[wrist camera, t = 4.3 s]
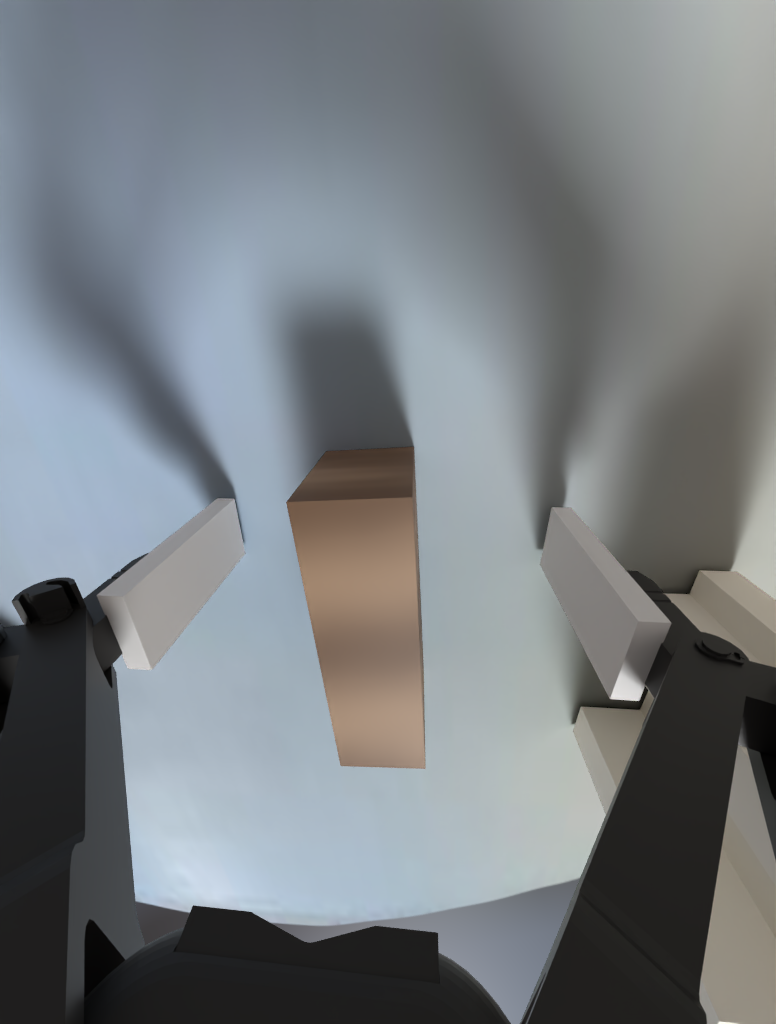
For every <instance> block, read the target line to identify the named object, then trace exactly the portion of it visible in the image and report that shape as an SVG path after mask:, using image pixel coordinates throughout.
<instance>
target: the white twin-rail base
mask: <svg viewBox="0 0 776 1024" xmlns="http://www.w3.org/2000/svg"><path fill="white" fill-rule="evenodd" d="M663 594H666V596H667V597H668V598H669V599H670V600H671V603H674V604H675V605H676V606H677V607H678V608H679V609H680V610H681V611H682V613H683V614H684V615H685V616H686V617H687V618H688V619H689V620H690V621H691V622H692V623H693V624H694V625H695V626H696V627H697V628H698V629H699V631H700V632H706V633H709V634H712V635H715V636H718V637H720V638H722V639H724V640H727V641H729V642H731V643H732V644H733V645H735V646H736V647H738V648H739V649H740V650H742V651H743V653H744V654H745V655H746V656H747V657H748V658H749V661H752V662H756V663H760V664H764V665H768V666H772V667H775V668H776V600H775V599H773V598H772V597H771V596H769V595H768V594H767V593H765V592H764V591H763V590H761V589H760V588H758V587H757V586H756V585H754V584H753V583H752V582H750V581H749V580H748V579H746V578H745V577H744V576H742V575H741V574H740V573H738V572H731V571H701V570H699V573H698V575H697V578H696V580H695V582H694V585H693V587H692V589H691V592H690V594H667V593H663ZM646 688H647V686H646ZM647 689H648V688H647ZM653 700H654V697H653V695H652V694H651V692H650V691H649V689H648V692H647V695H646V697H645V700H644V702H643V704H642V707H641V709H640V710H632V709H615V708H598V707H581V708H580V711H579V714H578V717H577V720H576V723H575V727H574V730H573V732H574V735H575V737H576V740H577V742H578V745H579V747H580V750H581V753H582V755H583V758H584V760H585V763H586V765H587V768H588V770H589V773H590V775H591V778H592V780H593V783H594V786H595V788H596V791H597V793H598V796H599V798H600V801H601V803H602V806H603V808H604V811H605V813H606V814H607V812H608V809H609V807H610V804H611V802H612V799H613V797H614V795H615V792H616V790H617V787H618V785H619V782H620V780H621V777H622V775H623V773H624V770H625V768H626V765H627V763H628V760H629V758H630V755H631V753H632V751H633V748H634V746H635V743H636V741H637V738H638V736H639V733H640V731H641V729H642V725H643V722H644V720H645V718H646V716H647V713H648V711H649V709H650V707H651V704H652V702H653ZM699 996H700V1003H701V1005H702V1007H703V1009H704V1011H705V1013H706V1017H707V1024H776V860H775V856H774V852H773V848H772V845H771V841H770V837H769V833H768V829H767V825H766V821H765V817H764V813H763V809H762V806H761V802H760V798H759V794H758V790H757V786H756V782H755V778H754V774H753V770H752V766H751V763H750V759H749V755H748V751H747V748H746V747H743V746H740V745H738V748H737V755H736V761H735V767H734V774H733V780H732V786H731V792H730V799H729V805H728V811H727V818H726V824H725V830H724V836H723V843H722V849H721V855H720V862H719V868H718V874H717V881H716V887H715V893H714V899H713V906H712V912H711V918H710V925H709V931H708V937H707V943H706V950H705V956H704V962H703V969H702V975H701V981H700V991H699Z"/></svg>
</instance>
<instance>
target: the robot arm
mask: <svg viewBox="0 0 776 1024" xmlns="http://www.w3.org/2000/svg"><path fill="white" fill-rule="evenodd" d="M244 555H245V549H244V544H243V539H242V534H241V529H240V524H239V519H238V514H237V509H236V504H235V499H227V498H217V499H216V500H214V501H213V502H212V503H211V504H210V505H208V506H207V507H206V508H205V509H203V510H202V511H201V512H200V513H198V514H197V515H196V516H195V517H193V518H192V519H191V520H190V521H188V522H187V523H186V524H185V525H183V526H182V527H181V528H180V529H178V530H177V531H176V532H175V533H173V534H172V535H171V536H170V537H168V538H167V539H166V540H165V541H163V542H162V543H161V544H160V545H159V546H157V547H156V548H155V549H154V550H152V551H151V552H150V553H147V554H145V555H143V556H141V557H139V558H137V559H135V560H133V561H131V562H130V563H129V564H127V565H126V566H125V567H124V568H122V569H121V571H120V572H119V571H118V572H117V573H116V574H115V575H113V576H112V577H111V579H108V580H107V581H106V582H104V583H103V584H102V585H101V586H99V587H98V588H97V589H95V590H94V591H93V592H92V593H90V594H89V595H88V596H87V597H85V598H84V599H83V598H82V596H81V594H80V591H79V589H78V587H77V585H76V583H75V581H74V579H71V578H55V579H50V580H46V581H43V582H40V583H37V584H35V585H33V586H31V587H29V588H27V589H24V590H23V591H22V592H20V593H19V594H17V595H16V596H15V597H14V599H13V600H12V603H13V605H14V607H15V609H16V610H17V612H18V614H19V616H20V618H21V619H22V621H23V623H24V625H19V626H13V627H7V628H3V627H2V625H1V623H0V1024H511V1023H510V1022H509V1020H508V1019H507V1017H506V1016H505V1015H504V1013H503V1012H502V1010H501V1009H500V1007H499V1006H498V1004H497V1003H496V1002H495V1000H494V999H493V998H492V997H491V996H490V994H489V993H488V992H487V991H486V990H485V989H484V987H483V986H482V985H481V984H480V983H479V982H478V981H477V980H476V979H475V978H474V977H473V976H472V975H471V974H470V973H469V972H467V971H466V970H465V969H464V968H462V967H461V966H459V965H458V964H457V963H455V962H454V961H453V960H451V959H449V958H447V957H445V956H444V955H442V954H440V953H438V933H435V932H426V931H416V930H407V929H399V928H390V927H380V926H374V927H370V928H366V929H362V930H359V931H355V932H351V933H347V934H343V935H340V936H336V937H332V938H328V939H325V940H321V941H317V942H313V943H307V942H304V941H301V940H300V939H298V938H296V937H294V936H293V935H291V934H289V933H287V932H285V931H284V930H282V929H280V928H278V927H276V926H275V925H273V924H271V923H269V922H268V921H266V920H264V919H262V918H261V917H259V916H257V915H255V914H253V913H252V912H246V911H237V910H228V909H219V908H210V907H201V906H193V907H192V910H191V912H190V915H189V917H188V920H187V922H186V925H185V927H184V928H181V929H178V930H175V931H173V932H171V933H168V934H166V935H164V936H161V937H160V938H158V939H156V940H154V941H153V942H151V943H149V944H147V945H146V946H145V943H144V939H143V936H142V932H141V929H140V926H139V922H138V918H137V912H136V905H135V893H134V881H133V869H132V857H131V845H130V833H129V821H128V809H127V797H126V785H125V774H124V762H123V750H122V738H121V726H120V714H119V702H118V690H117V678H116V672H115V669H114V667H113V665H112V664H113V663H114V662H115V661H116V660H117V659H118V657H119V656H120V655H121V654H122V656H123V658H124V661H125V663H126V665H127V668H128V669H141V670H152V669H153V668H154V667H155V666H156V664H157V663H158V662H159V661H160V659H161V658H162V657H163V656H164V654H165V653H166V652H167V651H168V649H169V648H170V647H171V646H172V645H173V643H174V642H175V641H176V640H177V638H178V637H179V636H180V635H181V633H182V632H183V631H184V630H185V628H186V627H187V626H188V625H189V623H190V622H191V621H192V620H193V618H194V617H195V616H196V615H197V613H198V612H199V611H200V610H201V608H202V607H203V606H204V605H205V603H206V602H207V601H208V600H209V598H210V597H211V596H212V595H213V593H214V592H215V591H216V590H217V588H218V587H219V586H220V585H221V583H222V582H223V581H224V580H225V578H226V577H227V576H228V575H229V573H230V572H231V571H232V570H233V568H234V567H235V566H236V565H237V563H238V562H239V561H240V560H241V558H242V557H243V556H244ZM540 566H541V567H542V569H543V571H544V573H545V575H546V577H547V579H548V581H549V583H550V585H551V587H552V589H553V591H554V592H555V594H556V596H557V598H558V600H559V602H560V604H561V606H562V608H563V610H564V612H565V614H566V616H567V618H568V619H569V621H570V623H571V625H572V627H573V629H574V631H575V633H576V635H577V637H578V639H579V641H580V643H581V644H582V646H583V648H584V650H585V652H586V654H587V656H588V658H589V660H590V662H591V664H592V666H593V668H594V670H595V671H596V673H597V675H598V677H599V679H600V681H601V683H602V685H603V687H604V689H605V691H606V693H607V695H608V696H609V698H610V699H615V700H631V701H639V700H640V698H641V695H642V693H643V690H644V688H645V686H647V688H648V689H649V691H650V692H651V694H652V695H653V697H654V700H653V702H652V704H651V707H650V709H649V711H648V713H647V716H646V718H645V720H644V722H643V725H642V729H641V731H640V733H639V736H638V738H637V741H636V743H635V746H634V748H633V751H632V753H631V755H630V758H629V760H628V763H627V765H626V768H625V770H624V773H623V775H622V777H621V780H620V782H619V785H618V787H617V790H616V792H615V795H614V797H613V799H612V802H611V804H610V807H609V809H608V812H607V814H606V817H605V819H604V821H603V824H602V826H601V829H600V831H599V834H598V836H597V839H596V841H595V843H594V846H593V848H592V851H591V853H590V856H589V858H588V861H587V863H586V865H585V868H584V870H583V873H582V875H581V878H580V880H579V883H578V885H577V887H576V890H575V892H574V895H573V897H572V900H571V902H570V905H569V907H568V909H567V912H566V915H565V917H564V919H563V922H562V924H561V927H560V929H559V931H558V934H557V936H556V939H555V941H554V944H553V946H552V949H551V951H550V953H549V956H548V958H547V961H546V963H545V966H544V968H543V970H542V972H541V975H540V977H539V979H538V982H537V984H536V987H535V989H534V991H533V994H532V996H531V999H530V1001H529V1003H528V1006H527V1008H526V1010H525V1013H524V1015H523V1018H522V1020H521V1023H520V1024H707V1017H706V1013H705V1011H704V1009H703V1007H702V1005H701V1003H700V996H699V991H700V981H701V975H702V969H703V962H704V956H705V950H706V943H707V937H708V931H709V925H710V918H711V912H712V906H713V899H714V893H715V887H716V881H717V874H718V868H719V862H720V855H721V849H722V843H723V836H724V830H725V824H726V818H727V811H728V805H729V799H730V792H731V786H732V780H733V774H734V767H735V761H736V755H737V748H738V745H740V746H743V747H746V748H747V751H748V755H749V759H750V763H751V766H752V770H753V774H754V778H755V782H756V786H757V790H758V794H759V798H760V802H761V806H762V809H763V813H764V817H765V821H766V825H767V829H768V833H769V837H770V841H771V845H772V848H773V852H774V856H775V860H776V668H775V667H772V666H768V665H764V664H760V663H756V662H752V661H749V658H748V657H747V656H746V655H745V654H744V653H743V651H742V650H740V649H739V648H738V647H736V646H735V645H733V644H732V643H731V642H729V641H727V640H724V639H722V638H720V637H718V636H715V635H712V634H709V633H706V632H700V631H699V629H698V628H697V627H696V626H695V625H694V624H693V623H692V622H691V621H690V620H689V619H688V618H687V617H686V616H685V615H684V614H683V613H682V611H681V610H680V609H679V608H678V607H677V606H676V605H675V604H674V603H671V600H670V599H669V598H668V597H667V596H666V594H663V591H662V590H661V589H660V588H659V587H658V586H657V585H656V584H655V583H654V582H653V581H652V580H651V579H649V578H647V577H646V576H644V575H643V574H641V573H639V572H638V571H626V570H625V569H624V568H623V567H622V565H621V564H620V563H619V562H618V561H617V560H616V559H615V557H614V556H613V555H612V554H611V553H610V552H609V550H608V549H607V548H606V547H605V546H604V545H603V544H602V542H601V541H600V540H599V539H598V538H597V537H596V536H595V534H594V533H593V532H592V531H591V530H590V529H589V528H588V526H587V525H586V524H585V523H584V522H583V521H582V519H581V518H580V517H579V516H578V515H577V514H576V513H575V511H574V510H573V509H572V508H562V507H552V508H551V513H550V518H549V523H548V528H547V533H546V538H545V543H544V548H543V553H542V558H541V563H540Z"/></svg>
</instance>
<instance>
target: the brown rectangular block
mask: <svg viewBox="0 0 776 1024" xmlns="http://www.w3.org/2000/svg"><path fill="white" fill-rule="evenodd" d="M286 503H287V508H288V512H289V517H290V522H291V527H292V532H293V537H294V542H295V546H296V551H297V556H298V561H299V566H300V571H301V576H302V580H303V585H304V590H305V595H306V600H307V605H308V609H309V614H310V619H311V624H312V629H313V634H314V639H315V643H316V648H317V653H318V658H319V663H320V668H321V673H322V677H323V682H324V687H325V692H326V697H327V702H328V706H329V711H330V716H331V721H332V726H333V731H334V736H335V740H336V745H337V750H338V755H339V760H340V765H341V766H358V767H389V768H421V769H425V720H424V667H423V644H422V620H421V597H420V574H419V550H418V527H417V504H416V481H415V457H414V447H400V448H380V449H360V450H341V451H326V452H325V453H324V455H323V456H322V457H321V459H320V460H319V461H318V462H317V464H316V465H315V466H314V467H313V469H312V470H311V471H310V473H309V474H308V475H307V476H306V478H305V479H304V480H303V482H302V483H301V484H300V485H299V487H298V488H297V489H296V490H295V492H294V493H293V494H292V496H291V497H290V498H289V499H288V501H287V502H286Z"/></svg>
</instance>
